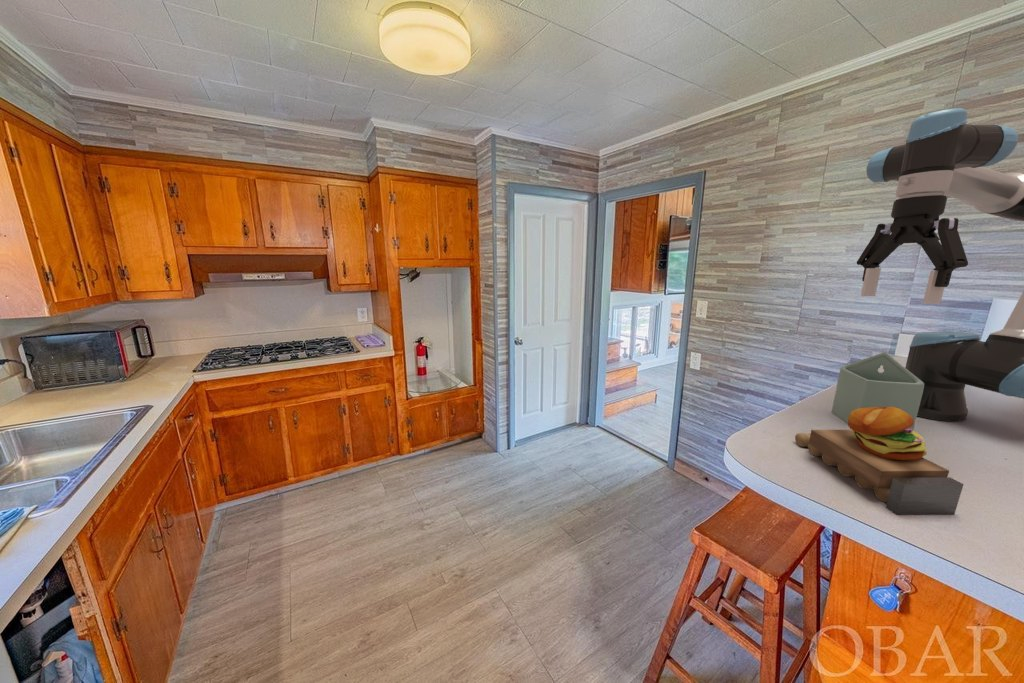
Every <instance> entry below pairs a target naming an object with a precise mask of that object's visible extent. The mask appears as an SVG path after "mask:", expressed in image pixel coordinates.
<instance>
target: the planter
mask: <svg viewBox="0 0 1024 683" xmlns="http://www.w3.org/2000/svg"><path fill="white" fill-rule="evenodd" d="M881 366H882V369H883V371H882V372H881V371H879V369H880V368H881ZM905 367H906V366H903V365H902V364H901V363H899V362H898V360H896V359H894V358H893V356H891V355H890V354H889V353H887V352H886V351H883V352H880V353H877V354H874V355H871V356H869V357H866V358H863V359H860V360H857V361H854V362H851V363H849V364H844V365H842V366H841V367H840V368H839V373H838V378H837V384H836V388H835V393H834V399H833V403H832V408H831V413H832V414H834V415H835V416H836V417H838V418H839V419H840V420H842V421H843V422H845V423H847V424H848V417H849V415H850V413H851V412H852V411H854V410H856V409H859V408H870V407H895V408H899V409H901V410H903V411H905V412H906V413H908V414H909V415H910V416H911V417H912V418H913V420H914V423H913V425H912V426H911V427H909V428H911V429H913V430H912V431H914V428H915V425H916V420H917V418H918V416H917V413H918V409H919V406H920V402H921V398H922V394H923V389H924V383H923V382H922V381H921V380H920V379H918V378H917V377H916V376H915V375H913V374H912V373H911V372H910V371H908V370H907V369H906V368H905Z"/></svg>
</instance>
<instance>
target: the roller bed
mask: <svg viewBox="0 0 1024 683" xmlns="http://www.w3.org/2000/svg"><path fill="white" fill-rule="evenodd" d="M810 435H811V432H810V433H809V432H808V433H807V432H806V433H801V432H800V433H796V434H795V436H794V437H795V438H794V439H795V443H796V445H797V446H799V447H807V449H808V452H809V453H810V454H811V455H813V456H821V457H822V460H823V462H824V464H826V466H827V465H828V466H837V469H838V471H839V473H840V474H841V475H842V476H844V477H854V480H855V482H856V484H857V485H858V486H859V487H860V488H862V489H873V490H874V494H875V496H876V498H877V499H878V500H880V501H881V502H884V503H887V500H888V496H889V492H890V488H876V487H875V486H873V485H872V484H870V483H868V482H867V481H865V480H864V479H862V478H861V477H859V476H857V475H856V474H854V473H853V472H851V471H850V470H848V469H847V468H845V467H843V466H842V465H840V464H839V463H837V462H836V461H834V460H833V459H831V458H829V457H828V456H826V455H825V454H823V453H822V452H820V451H818V450H817V449H815V448H814V447H812V446H811V445H809V440H810Z"/></svg>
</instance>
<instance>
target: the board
mask: <svg viewBox="0 0 1024 683" xmlns="http://www.w3.org/2000/svg"><path fill="white" fill-rule="evenodd" d="M810 433H811V435H810V440H809V445H811V446H812V447H814V448H815V449H817V450H818V451H820V452H822V453H823V454H825V455H826V456H828V457H829V458H831V459H833V460H834V461H836V462H837V463H839V464H840V465H842V466H843V467H845V468H847V469H848V470H850V471H851V472H853V473H854V474H856V475H857V476H859V477H861V478H862V479H864V480H865V481H867V482H868V483H870V484H872V485H873V486H875V487H876V488H891V484H892V480H893V478H936V477H949V473H950V470H949V469H947V468H945V467H943V466H941V465H939V464H937V463H935V462H933V461H931V460H928V459H926V458H924V456H923V457H922V458H919V459H911V460H895V459H890V458H884V457H881V456H878V455H876V454H873V453H871V452H869V451H867V450H866V449H864V448H862V447H861V446H860V445H859V444H858V443H857V439H856V438H855V437H854V436H853V430H852V429H811V430H810Z"/></svg>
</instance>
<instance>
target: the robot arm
mask: <svg viewBox="0 0 1024 683" xmlns="http://www.w3.org/2000/svg"><path fill="white" fill-rule="evenodd" d="M967 123H968V111H967V110H966V109H965V108H961V107H959V108H949V109H942V110H937V111H932V112H929V113H927V114H923V115H920V116H919V117H917V118H915V119H914V120H913V121H912V123H911V124H910V128H909V129H908V130H909V131H908V134H907V138H906V140H905V143H903V144H901V145H898V146H897V145H896V146H895V145H894V146H891V147H890V148H885V149H882V150H880V151H878V152H876V153H874V154H873V155H872V156H871V158H870V159H869V160H868V162H867V165H866V168H865V169H866V170H865V171H866V176H867V179H869V180H870V181H871V182H872V183H887V182H891V181H896V182H897V186H896V191H895V197H897V198H898V199H895V201H893V204H892V208H891V212H890V217H891V218H892V219H893V221H892V223H879V224H877V225H876V228H875V231H874V234H873V235H872V237H871V239H870V241H869V242H868V244H867V245H866V246H865V248H864V250H863V251H862V253H861V254H860V256H859V258H858V259H857V261H856V265H858V266H861V267H863V273H862V279H861V280H862V289H861V294H860V296H861V297H876V295H877V294H876V293H877V289H878V285H879V280H880V275H881V270H882V268H881V266H880V265H881V264H882V263H883V262H884V261H885V260H886V259H887V258H888V257H889V256H890V255H891V254H892V253H893V252H895V250H897V248H899V247H900V246H902V245H904V244H917V245H919V246H920V247H921V249H923V252H924V253H925V254H926V256H927V257H928V259H929V260H930V261H931V263H932V265H933V266H934V268H932V270H930V271H929V272H930V273H929V275H928V281H927V283H926V284H927V285H926V287H925V288H926V289H925V293H924V298H923V300H922V304H927V305H928V304H929V305H930V304H933V305H934V304H941V302H942V299H943V295H944V292H945V288H947V287H948V286H949V285H950V281H951V278H952V274H953V271H954V270H957V269H959V268H965V267H967V266H968V265H969V261H968V257H967V255H966V251H965V249H964V245H963V243H962V240H961V236H960V234H959V230H958V229H959V228H958V227H959V218H958V217H946V218H945V217H943V218H940V216H941V215H943V214H944V213H945V210H946V206H947V201H948V197H949V198H953V199H956V200H960V201H963V202H966V203H968V204H969V203H970V204H972V205H973V206H974V207H975V209H976V210H977V211H979V212H981V213H984V214H988V215H992V216H995V217H998V218H999V217H1000V218H1003V219H1008V220H1012V221H1019V222H1024V173H1021V172H1007V173H1004V172H1001V171H997V170H993V169H991V168H988V167H990V166H993V165H996V164H999V163H1000V162H1002V161H1003V160H1005V159H1006V158H1008V157H1009V156H1010V155H1011V153H1013V151H1014V150H1016V149H1015V148H1017V144H1018V142H1019V134H1018V132H1017V131H1016V129H1014V128H1013V127H1010V126H1004V125H999V124H967ZM936 230H937V233H936ZM904 367H905V368H906V369H907V370H908V371H910V372H911V373H912V374H913V375H915V376H916V377H917V378H918V379H920V380H921V381H922V382H923V383H924V389H923V394H922V398H921V402H920V406H919V409H918V413H917V417H919V418H920V417H921V418H924V419H929V420H935V421H943V422H963V421H966V420H967V418H968V415H969V409H968V407H967V401H966V395H965V387H966V386H971V387H973V388H978V389H981V390H985V391H990V392H994V393H998V394H1001V395H1004V396H1006V397H1015V398H1018V399H1023V400H1024V290H1023V292H1022V293H1021V295H1020V296H1019V299H1018V301H1017V302H1016V304H1015V306H1014V308H1013V310H1012V311H1011V313H1010V315H1009V317H1008V319H1007V321H1006V323H1005V325H1004V326H1003V328H1002V329H1000V330H996V331H995V332H994V331H993V332H990V333H989V335H988V336H987V338H986V340H985V341H982V340H981V338H980V335H979V334H978V333H973V332H961V331H960V332H958V331H921V332H919V333H916V334H914V335H913V338H912V340H911V343H910V345H909V351H908V354H907V358H906V364H905V366H904Z"/></svg>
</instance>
